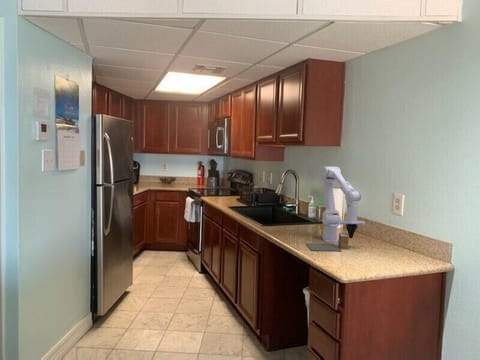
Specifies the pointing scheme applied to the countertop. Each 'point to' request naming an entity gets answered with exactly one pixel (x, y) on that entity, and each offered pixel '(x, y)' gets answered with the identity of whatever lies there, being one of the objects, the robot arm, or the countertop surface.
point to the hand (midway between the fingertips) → (350, 237)
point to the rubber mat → (323, 247)
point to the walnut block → (343, 240)
